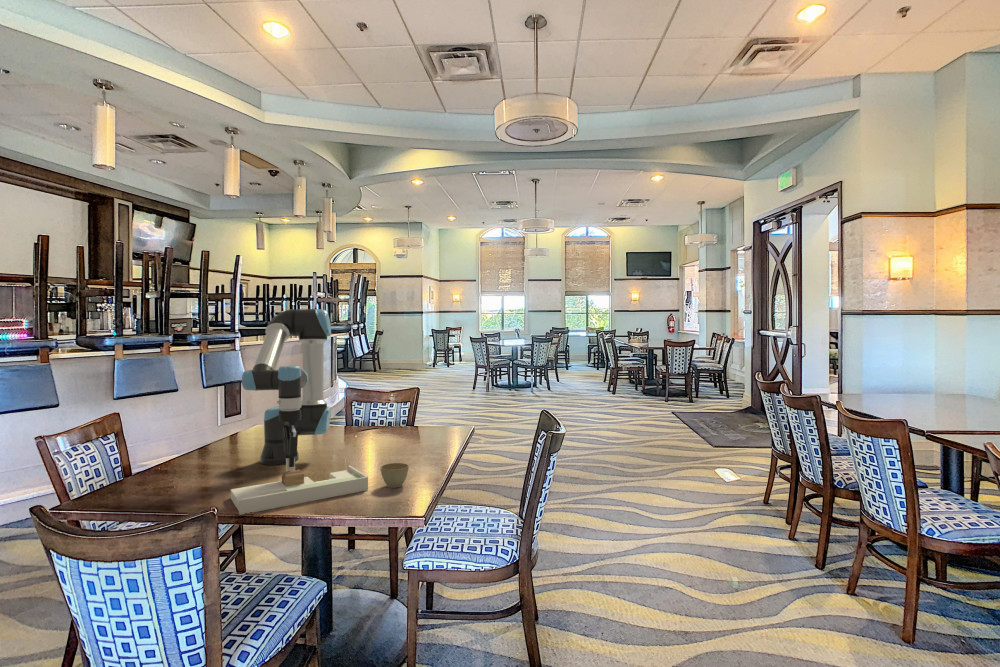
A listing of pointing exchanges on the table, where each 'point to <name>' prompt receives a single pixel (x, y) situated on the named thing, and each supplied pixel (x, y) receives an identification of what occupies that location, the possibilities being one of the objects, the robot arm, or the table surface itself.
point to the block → (292, 477)
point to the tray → (297, 491)
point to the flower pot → (394, 474)
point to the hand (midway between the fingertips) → (290, 475)
